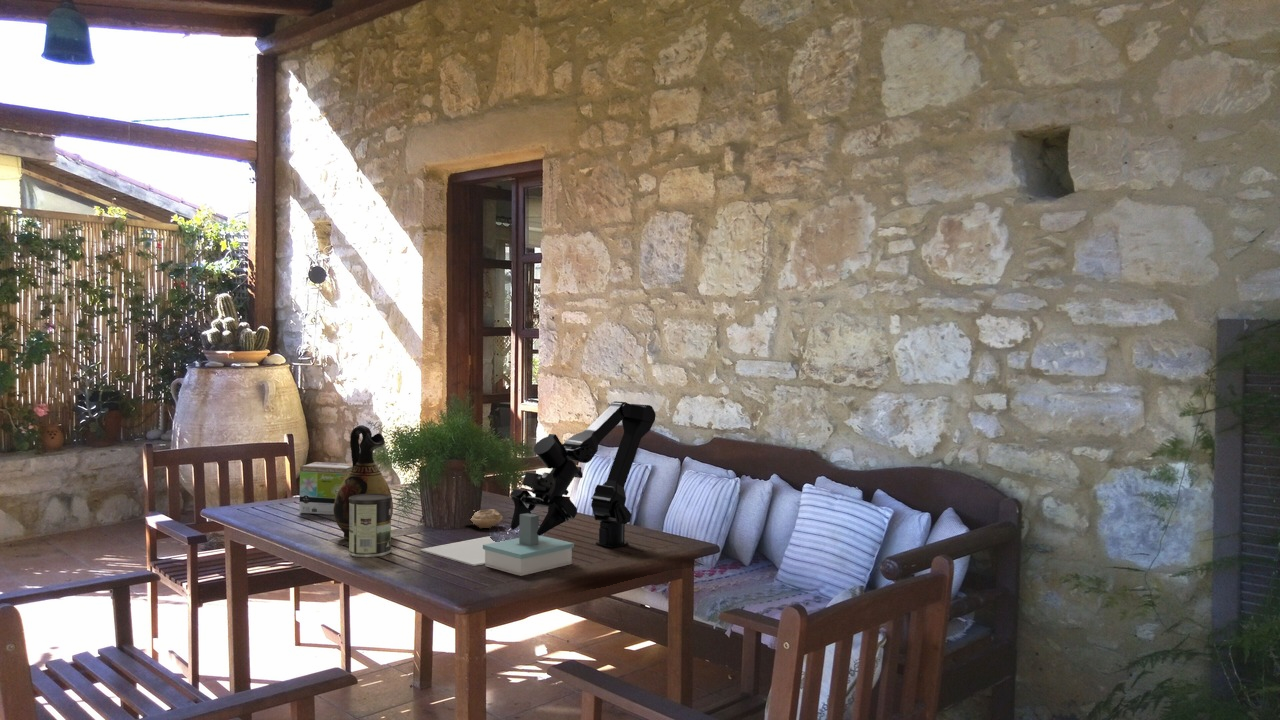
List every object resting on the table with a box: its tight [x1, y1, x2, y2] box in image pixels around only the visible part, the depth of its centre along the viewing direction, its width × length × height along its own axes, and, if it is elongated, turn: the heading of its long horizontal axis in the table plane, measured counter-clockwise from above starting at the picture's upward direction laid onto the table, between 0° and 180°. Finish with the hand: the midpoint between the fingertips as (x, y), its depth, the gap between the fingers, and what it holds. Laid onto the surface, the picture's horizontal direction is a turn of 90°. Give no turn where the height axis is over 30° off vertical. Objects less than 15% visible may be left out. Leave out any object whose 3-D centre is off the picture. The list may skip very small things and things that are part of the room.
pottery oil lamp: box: [470, 508, 504, 529], centre depth 264 cm, size 9×12×7 cm
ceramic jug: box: [333, 424, 394, 541], centre depth 247 cm, size 17×15×30 cm
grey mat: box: [419, 535, 495, 567], centre depth 234 cm, size 22×22×1 cm
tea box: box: [298, 461, 353, 516], centre depth 281 cm, size 15×10×15 cm, turn 83°
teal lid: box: [483, 513, 575, 559], centre depth 220 cm, size 17×14×10 cm
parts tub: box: [484, 548, 573, 577], centre depth 220 cm, size 16×13×4 cm
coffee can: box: [348, 494, 393, 558], centre depth 230 cm, size 10×10×14 cm
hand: (524, 531), depth 219 cm, fingers open, 9 cm apart
